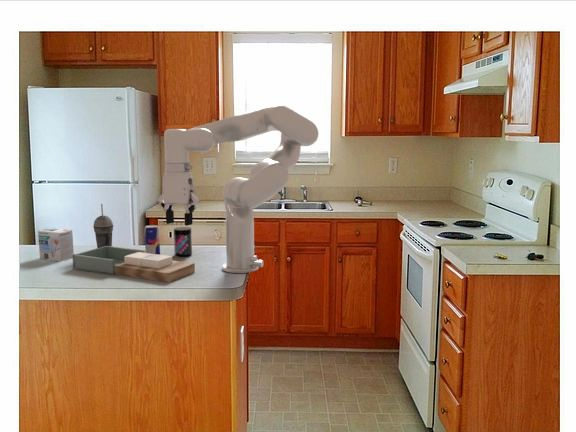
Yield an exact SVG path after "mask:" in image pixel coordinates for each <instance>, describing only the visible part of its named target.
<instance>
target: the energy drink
mask: <svg viewBox="0 0 576 432" xmlns="http://www.w3.org/2000/svg"><path fill="white" fill-rule="evenodd" d="M160 238H161V237H160V227H159V225H158V224H156V225H155V224H150V225H149V224H148V225H145V226H144V246H145V247H144V248H145V253H150V254H158V255H161V240H160Z"/></svg>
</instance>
